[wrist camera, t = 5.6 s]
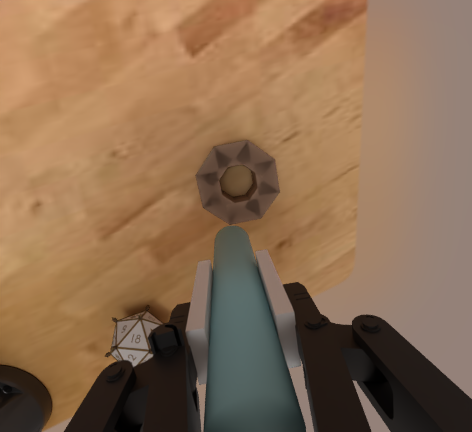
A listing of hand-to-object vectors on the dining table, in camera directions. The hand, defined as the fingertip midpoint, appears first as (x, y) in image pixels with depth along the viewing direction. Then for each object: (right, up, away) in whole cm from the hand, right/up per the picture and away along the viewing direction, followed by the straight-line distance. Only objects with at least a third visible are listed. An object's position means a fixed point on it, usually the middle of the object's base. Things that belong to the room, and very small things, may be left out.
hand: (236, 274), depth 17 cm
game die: (-14, -13, +25) cm, 31 cm away
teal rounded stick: (0, +1, +6) cm, 6 cm away
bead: (0, +9, +20) cm, 22 cm away
